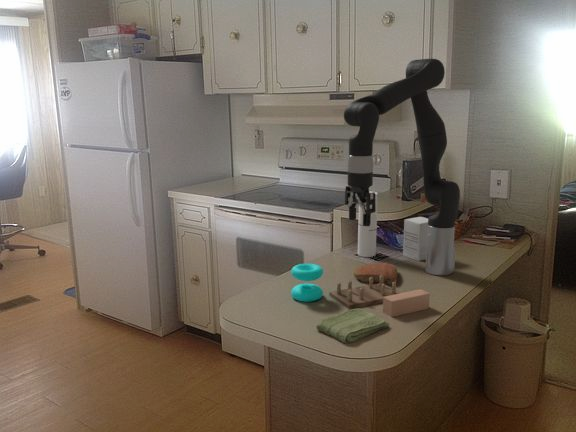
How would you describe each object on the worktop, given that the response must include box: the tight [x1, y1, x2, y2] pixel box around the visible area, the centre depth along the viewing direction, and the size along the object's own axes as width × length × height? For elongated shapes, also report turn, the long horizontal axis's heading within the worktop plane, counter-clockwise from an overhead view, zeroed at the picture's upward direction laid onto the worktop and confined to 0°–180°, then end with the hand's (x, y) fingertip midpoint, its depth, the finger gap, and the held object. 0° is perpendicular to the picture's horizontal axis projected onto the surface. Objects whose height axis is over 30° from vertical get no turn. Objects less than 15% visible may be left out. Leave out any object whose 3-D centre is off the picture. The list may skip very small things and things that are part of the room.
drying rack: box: [329, 275, 401, 310], centre depth 172 cm, size 20×12×5 cm, turn 114°
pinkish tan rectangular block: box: [382, 288, 431, 318], centre depth 161 cm, size 14×4×5 cm, turn 117°
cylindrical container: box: [357, 190, 378, 258], centre depth 214 cm, size 7×7×25 cm
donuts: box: [290, 263, 324, 303], centre depth 171 cm, size 10×10×10 cm
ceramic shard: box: [353, 262, 398, 286], centre depth 190 cm, size 15×6×15 cm
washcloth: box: [315, 307, 390, 344], centre depth 150 cm, size 13×18×3 cm
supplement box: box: [402, 216, 428, 262], centre depth 212 cm, size 9×9×15 cm
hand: (359, 222), depth 166 cm, fingers open, 8 cm apart
